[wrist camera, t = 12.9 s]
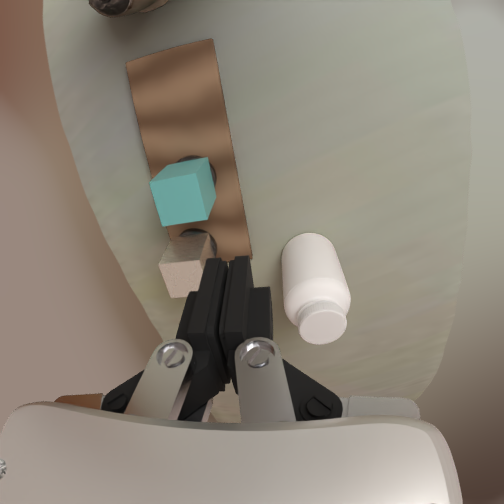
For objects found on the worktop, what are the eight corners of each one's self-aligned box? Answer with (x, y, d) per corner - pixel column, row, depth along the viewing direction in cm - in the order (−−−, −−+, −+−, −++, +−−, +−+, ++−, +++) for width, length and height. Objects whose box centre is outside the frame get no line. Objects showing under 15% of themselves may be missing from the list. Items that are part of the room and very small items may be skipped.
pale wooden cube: (171, 231, 42) (154, 262, 35) (212, 225, 41) (201, 256, 34) (182, 266, 45) (169, 300, 38) (221, 262, 44) (213, 297, 37)
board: (128, 63, 30) (125, 62, 29) (213, 39, 29) (211, 38, 28) (180, 263, 46) (179, 266, 45) (252, 255, 44) (252, 259, 44)
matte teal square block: (167, 165, 35) (149, 182, 30) (207, 156, 35) (196, 173, 29) (177, 203, 38) (162, 226, 32) (216, 196, 37) (207, 219, 32)
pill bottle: (330, 224, 41) (356, 294, 29) (337, 270, 45) (359, 345, 32) (274, 237, 43) (278, 311, 30) (287, 281, 47) (293, 358, 34)
